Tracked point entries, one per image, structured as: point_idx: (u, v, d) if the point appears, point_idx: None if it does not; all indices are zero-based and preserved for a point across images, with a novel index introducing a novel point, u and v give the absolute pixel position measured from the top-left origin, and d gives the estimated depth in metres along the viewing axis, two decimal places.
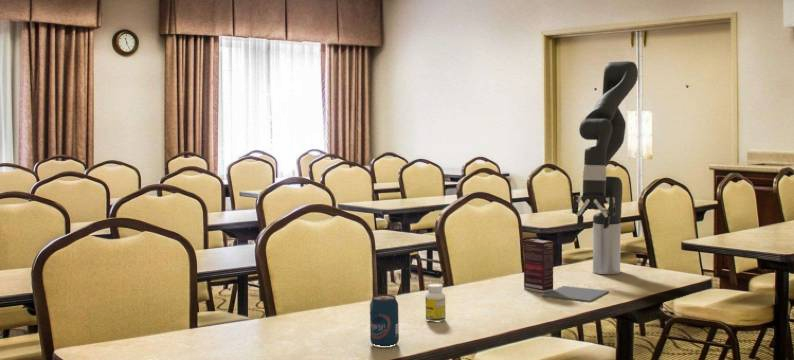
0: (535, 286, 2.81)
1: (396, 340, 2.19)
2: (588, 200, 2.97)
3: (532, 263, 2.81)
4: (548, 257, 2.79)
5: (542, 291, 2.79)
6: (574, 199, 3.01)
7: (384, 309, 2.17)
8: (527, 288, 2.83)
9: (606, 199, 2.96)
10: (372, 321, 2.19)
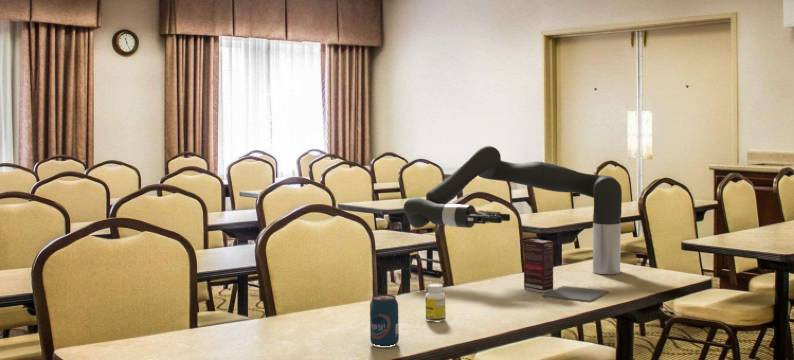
0: (535, 286, 2.81)
1: (396, 340, 2.19)
2: None
3: (532, 263, 2.81)
4: (548, 257, 2.79)
5: (542, 291, 2.79)
6: None
7: (384, 309, 2.17)
8: (527, 288, 2.83)
9: None
10: (372, 321, 2.19)
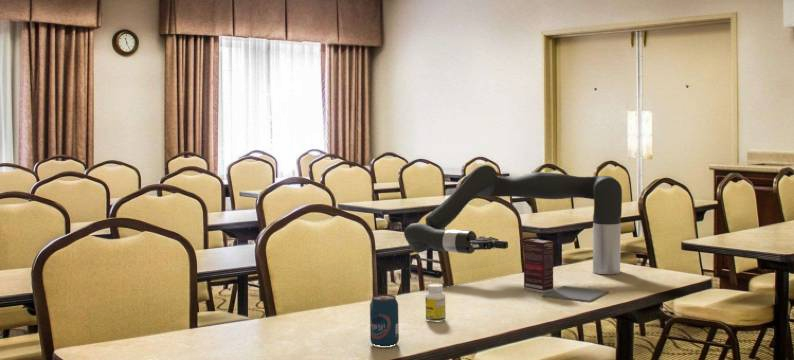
0: (535, 286, 2.81)
1: (396, 340, 2.19)
2: None
3: (532, 263, 2.81)
4: (548, 257, 2.79)
5: (542, 291, 2.79)
6: None
7: (384, 309, 2.17)
8: (527, 288, 2.83)
9: None
10: (372, 321, 2.19)
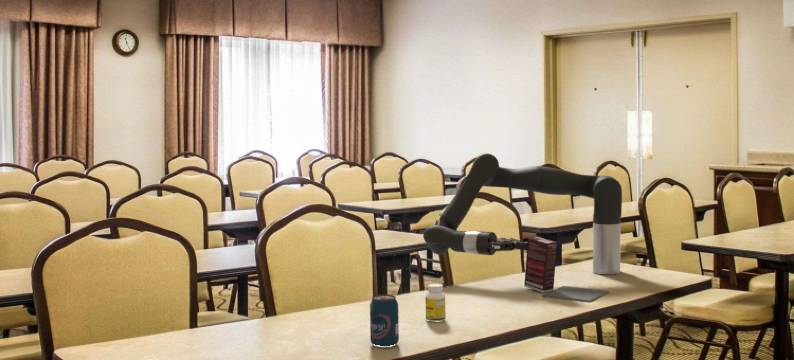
0: (536, 284, 2.80)
1: (396, 340, 2.19)
2: None
3: (535, 262, 2.80)
4: (551, 258, 2.78)
5: (542, 291, 2.79)
6: None
7: (384, 309, 2.17)
8: (527, 286, 2.83)
9: None
10: (372, 321, 2.19)
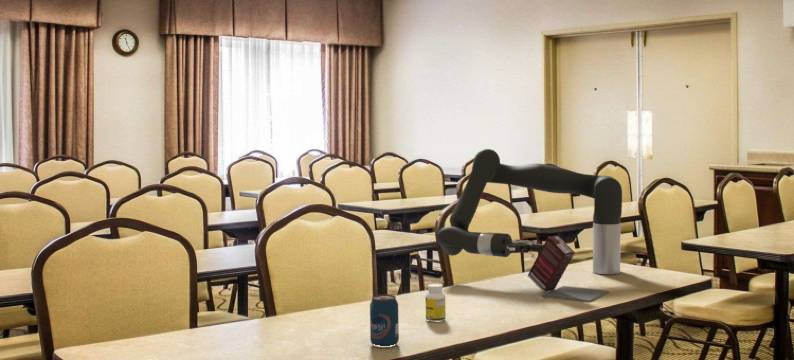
0: (539, 281, 2.79)
1: (396, 340, 2.19)
2: None
3: (546, 262, 2.77)
4: (563, 265, 2.74)
5: (543, 290, 2.78)
6: None
7: (384, 309, 2.17)
8: (530, 277, 2.82)
9: None
10: (372, 321, 2.19)
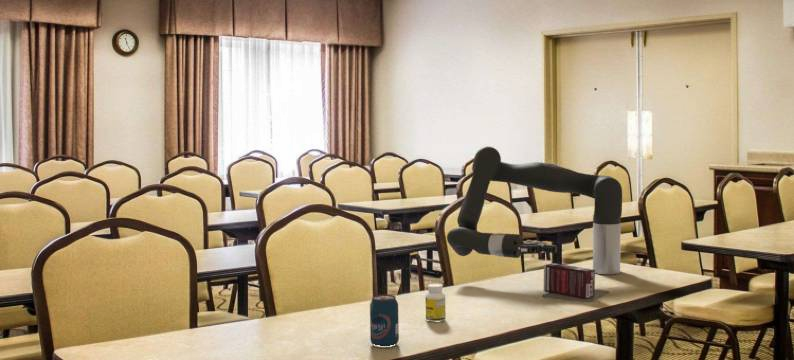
0: (548, 281, 2.77)
1: (396, 340, 2.19)
2: None
3: (566, 280, 2.72)
4: None
5: (544, 289, 2.78)
6: None
7: (384, 309, 2.17)
8: (545, 269, 2.77)
9: None
10: (372, 321, 2.19)
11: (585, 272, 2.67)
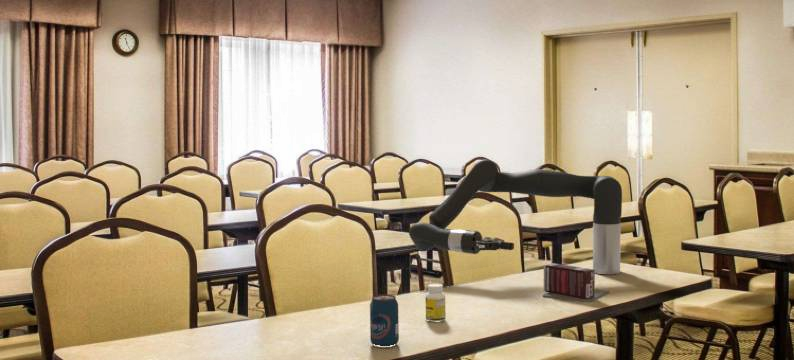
0: (548, 282, 2.77)
1: (396, 340, 2.19)
2: None
3: (566, 281, 2.72)
4: None
5: (544, 290, 2.78)
6: None
7: (384, 309, 2.17)
8: (544, 270, 2.77)
9: None
10: (372, 321, 2.19)
11: (585, 272, 2.67)
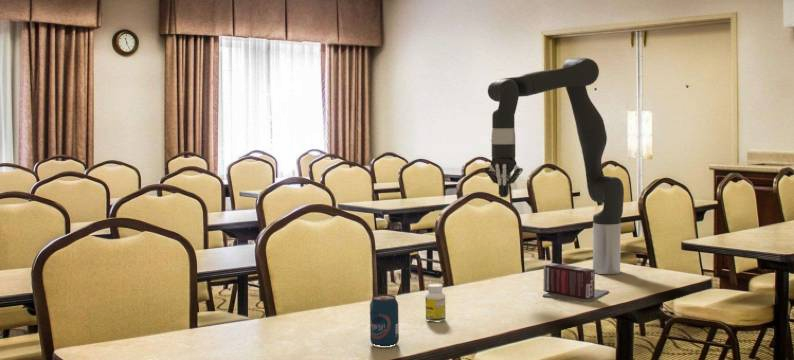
0: (548, 282, 2.77)
1: (396, 340, 2.19)
2: (497, 165, 2.85)
3: (566, 281, 2.72)
4: None
5: (544, 290, 2.78)
6: (487, 171, 2.88)
7: (384, 309, 2.17)
8: (544, 270, 2.77)
9: (514, 166, 2.84)
10: (372, 321, 2.19)
11: (585, 272, 2.67)
